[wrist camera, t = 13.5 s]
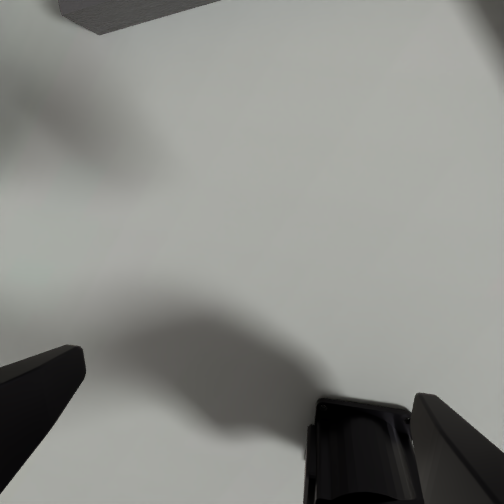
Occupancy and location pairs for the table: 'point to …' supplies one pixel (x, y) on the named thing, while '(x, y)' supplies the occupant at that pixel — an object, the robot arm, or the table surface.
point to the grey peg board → (122, 12)
